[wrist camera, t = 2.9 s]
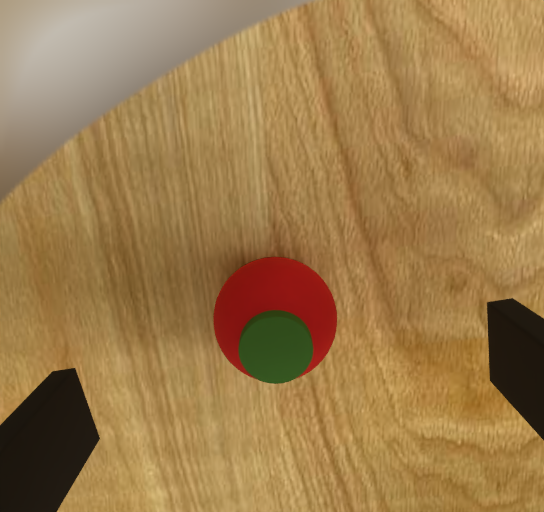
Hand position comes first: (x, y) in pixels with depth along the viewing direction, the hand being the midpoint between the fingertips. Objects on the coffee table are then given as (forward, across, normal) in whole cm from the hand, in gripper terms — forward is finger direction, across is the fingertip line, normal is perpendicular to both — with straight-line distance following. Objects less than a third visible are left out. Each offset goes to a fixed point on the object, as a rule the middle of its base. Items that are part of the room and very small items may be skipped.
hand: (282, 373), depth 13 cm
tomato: (+6, 0, 0) cm, 6 cm away
